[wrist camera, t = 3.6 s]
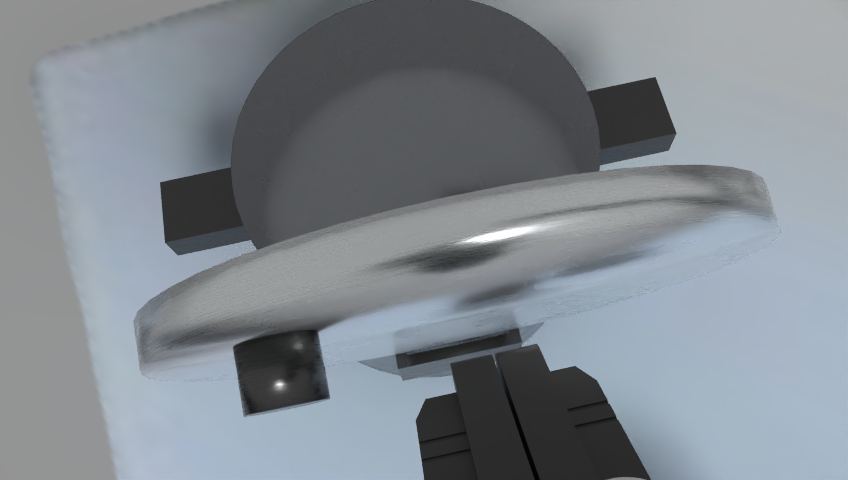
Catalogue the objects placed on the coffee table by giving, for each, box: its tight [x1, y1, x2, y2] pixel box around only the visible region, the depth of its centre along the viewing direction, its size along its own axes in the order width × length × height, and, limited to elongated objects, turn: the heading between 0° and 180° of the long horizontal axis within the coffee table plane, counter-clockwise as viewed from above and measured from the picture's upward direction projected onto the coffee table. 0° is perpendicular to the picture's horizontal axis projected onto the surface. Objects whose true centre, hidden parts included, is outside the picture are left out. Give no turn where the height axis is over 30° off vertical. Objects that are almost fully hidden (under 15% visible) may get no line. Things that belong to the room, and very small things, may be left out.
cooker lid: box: [134, 165, 781, 417], centre depth 23 cm, size 18×17×3 cm
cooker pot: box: [160, 0, 676, 381], centre depth 39 cm, size 17×23×10 cm
